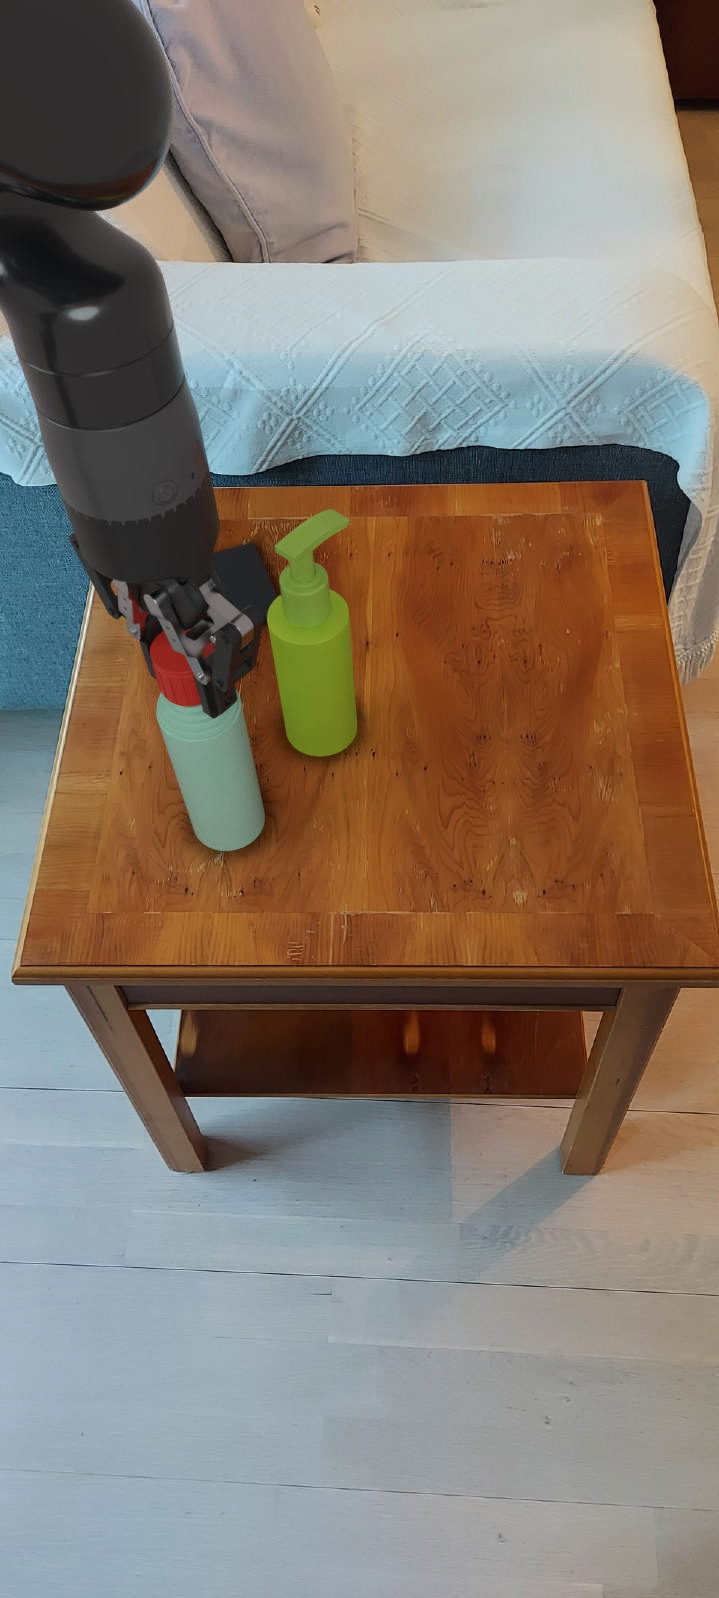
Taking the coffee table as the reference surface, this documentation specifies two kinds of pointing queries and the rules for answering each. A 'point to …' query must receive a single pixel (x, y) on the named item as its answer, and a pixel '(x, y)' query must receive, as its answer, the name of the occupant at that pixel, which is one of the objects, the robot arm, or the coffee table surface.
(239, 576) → the mat
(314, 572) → the soap dispenser
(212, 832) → the bottle
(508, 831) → the coffee table surface
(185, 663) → the cap
